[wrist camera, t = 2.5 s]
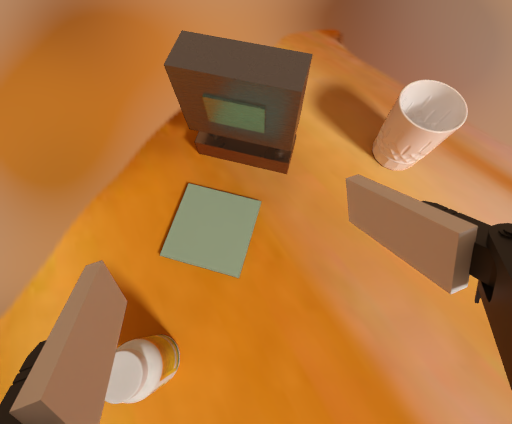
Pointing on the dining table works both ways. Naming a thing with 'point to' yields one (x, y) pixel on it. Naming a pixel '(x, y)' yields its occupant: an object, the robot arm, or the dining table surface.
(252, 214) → the green mat
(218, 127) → the mounted unit
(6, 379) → the dining table surface
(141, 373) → the supplement bottle
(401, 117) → the white cup
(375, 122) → the dining table surface
